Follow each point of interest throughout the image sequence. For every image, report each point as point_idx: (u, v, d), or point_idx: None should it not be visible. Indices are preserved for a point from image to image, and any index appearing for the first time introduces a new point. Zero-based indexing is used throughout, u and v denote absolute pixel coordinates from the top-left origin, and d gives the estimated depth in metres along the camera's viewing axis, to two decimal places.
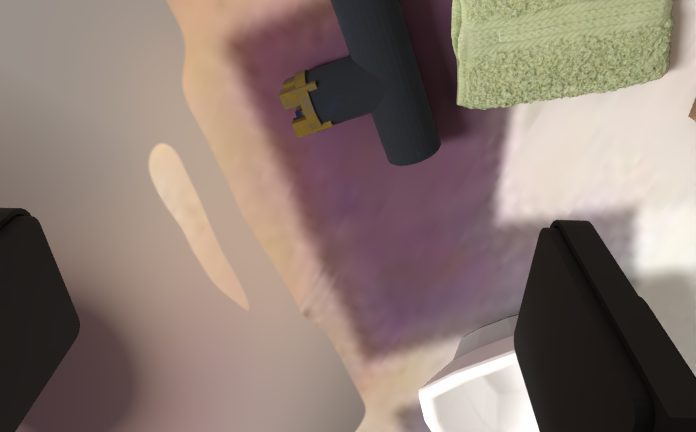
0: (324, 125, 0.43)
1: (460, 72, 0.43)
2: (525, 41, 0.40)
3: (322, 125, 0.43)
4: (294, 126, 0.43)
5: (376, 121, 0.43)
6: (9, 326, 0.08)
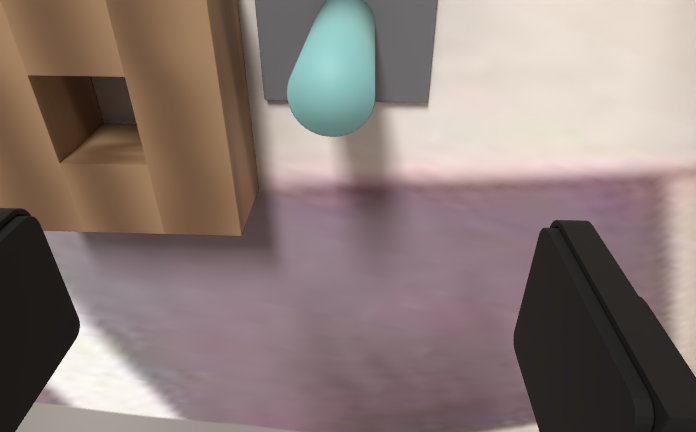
0: None
1: None
2: None
3: None
4: None
5: None
6: (9, 326, 0.08)
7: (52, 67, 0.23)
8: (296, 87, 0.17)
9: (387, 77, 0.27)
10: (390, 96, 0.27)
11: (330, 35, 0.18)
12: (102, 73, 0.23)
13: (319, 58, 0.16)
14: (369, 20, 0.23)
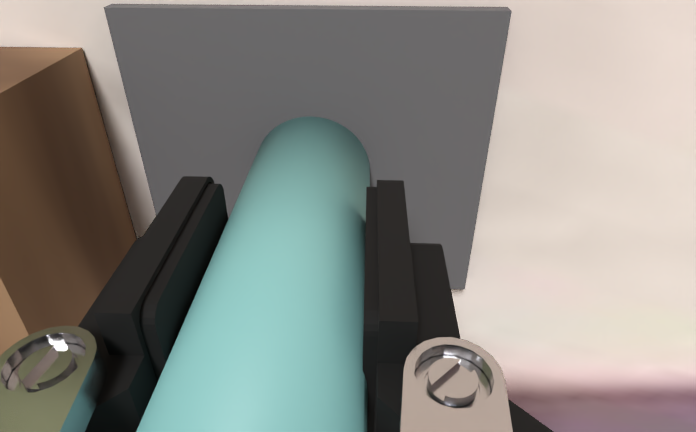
0: None
1: None
2: None
3: None
4: None
5: None
6: None
7: None
8: None
9: None
10: None
11: (226, 382, 0.06)
12: None
13: None
14: (356, 197, 0.10)
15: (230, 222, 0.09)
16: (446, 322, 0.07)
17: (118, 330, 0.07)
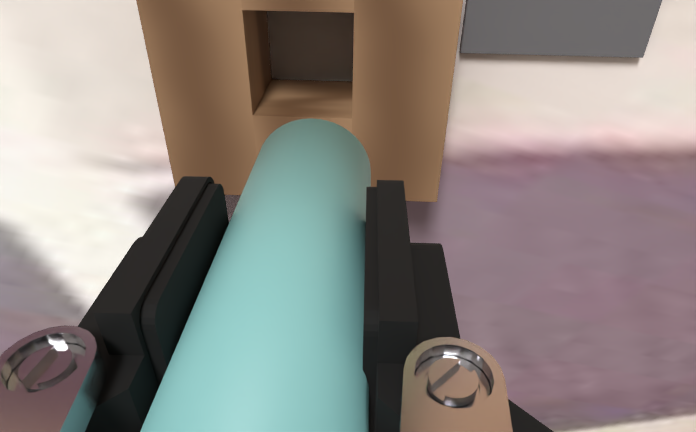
0: None
1: None
2: None
3: None
4: None
5: None
6: None
7: (273, 0, 0.20)
8: None
9: (604, 28, 0.24)
10: (602, 50, 0.25)
11: (229, 386, 0.06)
12: (329, 8, 0.20)
13: None
14: (357, 199, 0.10)
15: (232, 224, 0.09)
16: (446, 322, 0.07)
17: (118, 330, 0.07)
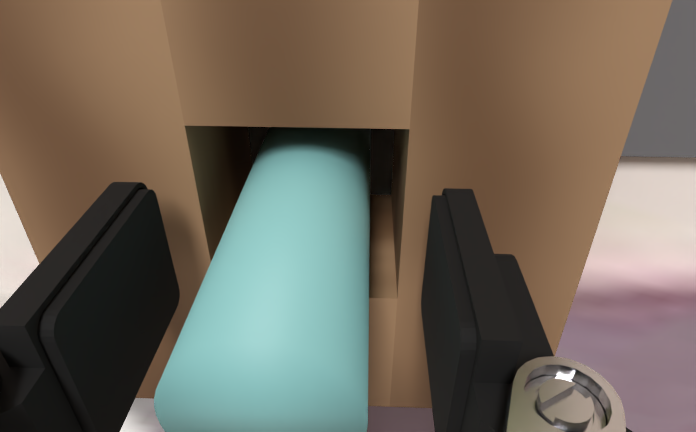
0: None
1: None
2: None
3: None
4: None
5: None
6: (138, 288, 0.09)
7: (246, 108, 0.10)
8: (175, 405, 0.07)
9: None
10: None
11: (267, 247, 0.08)
12: (359, 122, 0.10)
13: (223, 357, 0.06)
14: (359, 144, 0.13)
15: (257, 160, 0.12)
16: (535, 338, 0.07)
17: (14, 343, 0.07)
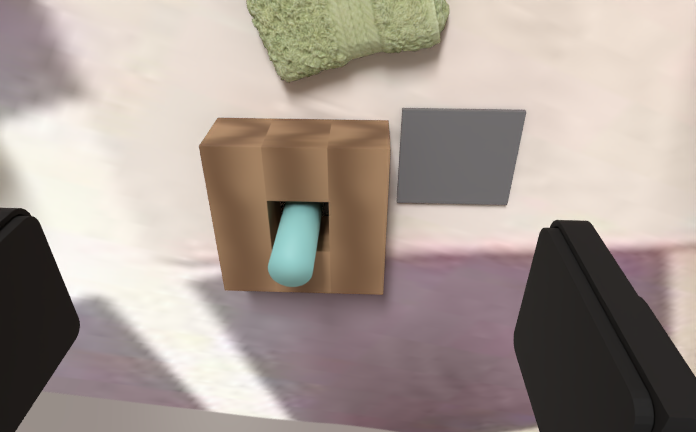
0: None
1: None
2: None
3: None
4: None
5: None
6: (9, 326, 0.08)
7: (283, 196, 0.36)
8: (272, 266, 0.33)
9: (481, 190, 0.40)
10: (482, 201, 0.41)
11: (291, 233, 0.34)
12: (314, 200, 0.36)
13: (283, 254, 0.33)
14: (318, 202, 0.39)
15: (285, 208, 0.38)
16: None
17: None
